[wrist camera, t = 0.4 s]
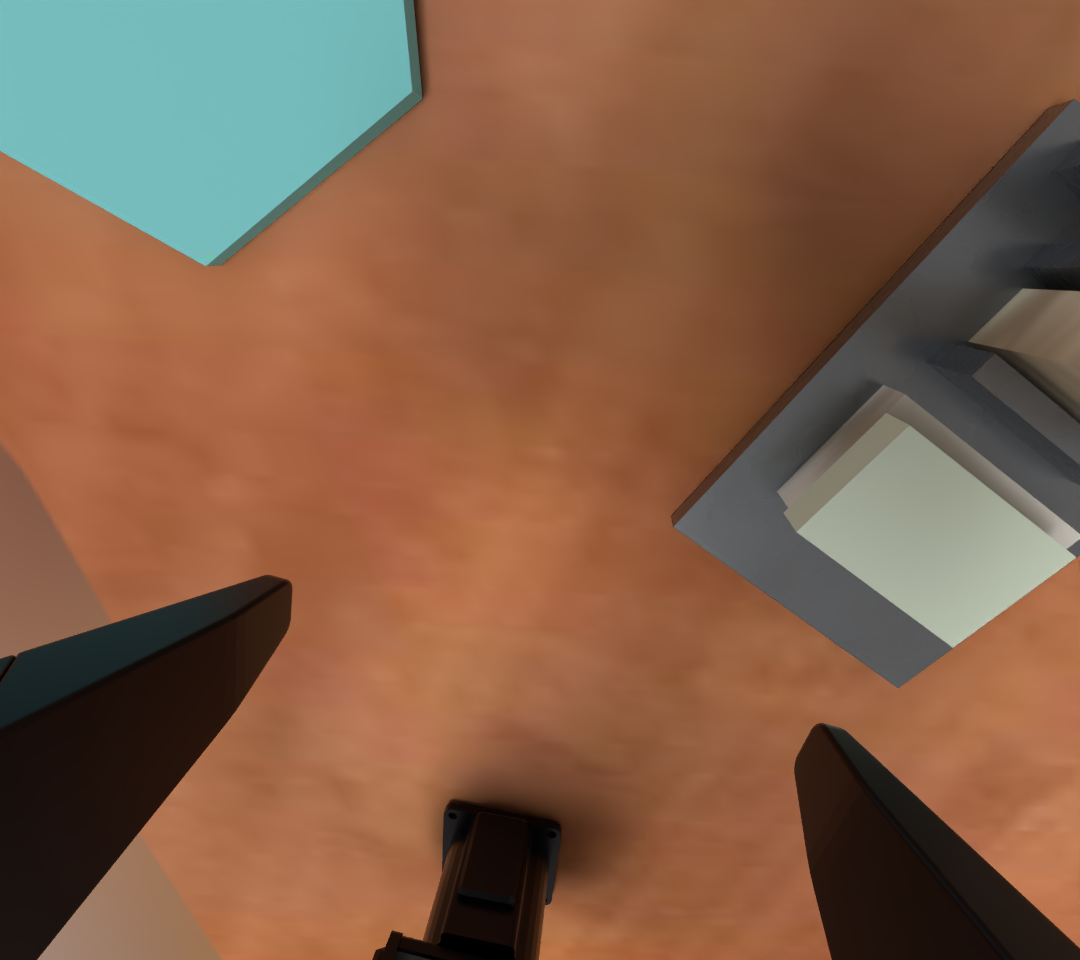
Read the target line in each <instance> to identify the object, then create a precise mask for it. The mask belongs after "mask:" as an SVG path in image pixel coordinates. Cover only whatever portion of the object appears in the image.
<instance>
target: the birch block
mask: <svg viewBox="0 0 1080 960" xmlns="http://www.w3.org/2000/svg"><path fill="white" fill-rule="evenodd" d="M968 342H969V343H970V344H971V345H973V346H974V347H975V348H976V349H977V350H982V351H986V352H991V353H995V354H997V355H998V356H999V357H1000V358H1001V359H1003V360H1004V361H1005V362H1006V363H1007V364H1009V365H1010V366H1011V367H1012V368H1013V369H1015V370H1016V371H1017V372H1018V373H1019V374H1021V375H1022V376H1023V377H1024V378H1026V379H1027V380H1028V381H1029V382H1030V383H1032V384H1033V385H1034V386H1035V387H1036V388H1038V389H1039V390H1040V391H1041V392H1042V393H1044V394H1045V395H1046V396H1047V397H1048V398H1050V399H1051V400H1052V401H1053V402H1054V403H1056V404H1057V405H1058V406H1059V407H1060V408H1062V409H1063V410H1064V411H1065V412H1066V413H1068V414H1069V415H1070V416H1071V417H1072V418H1074V419H1075V420H1076V421H1077V422H1078V423H1080V291H1063V290H1043V289H1022V290H1021V291H1020V292H1019V293H1018V294H1017V295H1016V296H1014V297H1013V298H1012V299H1011V300H1010V301H1009V302H1008V303H1007V304H1006V305H1005V306H1004V307H1003V308H1002V309H1001V310H1000V311H999V312H998V313H997V314H996V315H995V316H994V317H993V318H992V319H991V320H990V321H989V322H988V323H987V324H985V325H984V326H983V327H982V328H981V329H980V330H979V331H978V332H977V333H976V334H975V335H974V336H973V337H972V338H971V339H970V340H969V341H968Z"/></svg>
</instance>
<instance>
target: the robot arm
mask: <svg viewBox="0 0 1080 960" xmlns="http://www.w3.org/2000/svg"><path fill="white" fill-rule="evenodd" d="M291 606H292V584H291V582H290V581H289V580H287V579H283V578H279V577H276V576H272V575H264V576H261V577H258V578H255V579H251V580H248V581H245V582H242V583H239V584H236V585H233V586H229V587H226V588H223V589H220V590H217V591H214V592H210V593H207V594H204V595H201V596H198V597H195V598H191V599H188V600H185V601H182V602H179V603H176V604H172V605H169V606H166V607H163V608H160V609H157V610H153V611H150V612H147V613H144V614H141V615H138V616H134V617H131V618H128V619H125V620H122V621H119V622H115V623H112V624H109V625H106V626H103V627H100V628H96V629H94V630H90V631H87V632H84V633H81V634H78V635H74V636H71V637H68V638H65V639H62V640H59V641H55V642H52V643H49V644H46V645H43V646H39V647H36V648H33V649H30V650H27V651H24V652H21V653H19V654H18V655H17V656H16V657H15V656H13V655H11V656H8V657H4V658H1V659H0V960H37V959H38V958H39V957H40V955H41V954H42V953H43V951H44V950H45V949H46V948H47V947H48V945H49V944H50V943H51V942H52V940H53V939H54V938H55V936H56V935H57V934H58V933H59V932H60V930H61V929H62V928H63V927H64V925H65V924H66V923H67V921H68V920H69V919H70V918H71V917H72V915H73V914H74V913H75V912H76V910H77V909H78V908H79V907H80V905H81V904H82V903H83V902H84V900H85V899H86V898H87V896H88V895H89V894H90V893H91V892H92V890H93V889H94V888H95V887H96V885H97V884H98V883H99V882H100V880H101V879H102V878H103V877H104V875H105V874H106V873H107V872H108V870H109V869H110V868H111V866H112V865H113V864H114V863H115V862H116V860H117V859H118V858H119V857H120V855H121V854H122V853H123V852H124V850H125V849H126V848H127V847H128V845H129V844H130V843H131V842H132V840H133V839H134V838H135V836H136V835H137V834H138V833H139V832H140V831H141V829H142V828H143V827H144V826H145V824H146V823H147V822H148V821H149V819H150V818H151V817H152V816H153V814H154V813H155V812H156V811H157V809H158V808H159V807H160V806H161V804H162V803H163V802H164V801H165V799H166V798H167V797H168V796H169V794H170V793H171V792H172V791H173V789H174V788H175V787H176V786H177V784H178V783H179V782H180V781H181V779H182V778H183V777H184V776H185V774H186V773H187V772H188V771H189V769H190V768H191V767H192V766H193V764H194V763H195V762H196V761H197V759H198V758H199V757H200V756H201V754H202V753H203V752H204V751H205V749H206V748H207V747H208V746H209V744H210V743H211V742H212V741H213V739H214V738H215V737H216V736H217V734H218V733H219V732H220V731H221V729H222V728H223V727H224V726H225V724H226V723H227V722H228V720H229V719H230V718H231V716H232V715H233V714H234V713H235V711H236V710H237V708H238V707H239V705H240V704H241V702H242V701H243V700H244V698H245V696H246V695H247V693H248V692H249V690H250V689H251V687H252V686H253V684H254V683H255V681H256V679H257V678H258V676H259V675H260V673H261V672H262V670H263V669H264V667H265V665H266V664H267V662H268V661H269V659H270V658H271V656H272V655H273V653H274V652H275V650H276V648H277V647H278V645H279V644H280V642H281V641H282V639H283V638H284V636H285V634H286V633H287V630H288V628H289V625H290V621H291ZM794 773H795V780H796V787H797V793H798V800H799V806H800V813H801V819H802V826H803V832H804V839H805V846H806V852H807V858H808V863H809V869H810V874H811V878H812V883H813V887H814V891H815V895H816V899H817V903H818V907H819V911H820V915H821V919H822V923H823V927H824V931H825V934H826V938H827V942H828V946H829V950H830V954H831V958H832V960H1080V948H1079V947H1078V946H1077V945H1076V944H1075V943H1074V942H1073V941H1071V940H1070V939H1069V938H1068V937H1067V936H1066V935H1065V934H1064V933H1063V932H1062V931H1061V930H1060V929H1059V928H1057V927H1056V926H1055V925H1054V924H1053V923H1052V922H1051V921H1050V920H1049V919H1048V918H1047V917H1046V916H1045V915H1043V914H1042V913H1041V912H1040V911H1039V910H1038V909H1037V908H1036V907H1035V906H1034V905H1033V904H1032V903H1031V902H1030V901H1028V900H1027V899H1026V898H1025V897H1024V896H1023V895H1022V894H1021V893H1020V892H1019V891H1018V890H1017V889H1016V888H1014V887H1013V886H1012V885H1011V884H1010V883H1009V882H1008V881H1007V880H1006V879H1005V878H1004V877H1003V876H1002V875H1000V874H999V873H998V872H997V871H996V870H995V869H994V868H993V867H992V866H991V865H990V864H989V863H988V862H987V861H985V860H984V859H983V858H982V857H981V856H980V855H979V854H978V853H977V852H976V851H975V850H974V849H973V848H971V847H970V846H969V845H968V844H967V843H966V842H965V841H964V840H963V839H962V838H961V837H960V836H959V835H957V834H956V833H955V832H954V831H953V830H952V829H951V828H950V827H949V826H948V825H947V824H946V823H945V822H944V821H942V820H941V819H940V818H939V817H938V816H937V815H936V814H935V813H934V812H933V811H932V810H931V809H930V808H928V807H927V806H926V805H925V804H924V803H923V802H922V801H921V800H920V799H919V798H918V797H917V796H916V795H915V794H913V793H912V792H911V791H910V790H909V789H908V788H907V787H906V786H905V785H904V784H903V783H902V782H901V781H899V780H898V779H897V778H896V777H895V776H894V775H893V774H892V773H891V772H890V771H889V770H888V769H887V768H886V767H884V766H883V765H882V764H881V763H880V762H879V761H878V760H877V759H876V758H875V757H874V756H873V755H872V754H870V753H869V752H868V751H867V750H866V749H865V748H864V747H863V746H862V745H861V744H860V743H859V742H858V741H857V740H855V739H854V738H853V737H852V736H851V735H850V734H849V733H848V732H847V731H845V730H844V729H842V728H838V727H834V726H831V725H827V724H823V723H819V724H816V725H815V726H814V727H813V728H812V730H811V731H810V733H809V735H808V737H807V739H806V741H805V743H804V744H803V746H802V748H801V750H800V752H799V754H798V755H797V758H796V761H795V766H794ZM561 832H562V828H561V825H560V824H559V823H557V822H554V821H549V820H544V819H539V818H533V817H528V816H523V815H517V814H512V813H506V812H501V811H496V810H490V809H485V808H480V807H474V806H469V805H464V804H458V803H449V804H448V805H447V806H446V809H445V812H444V827H443V861H442V875H441V879H440V882H439V886H438V889H437V893H436V896H435V900H434V903H433V906H432V910H431V913H430V917H429V920H428V924H427V927H426V931H425V934H424V938H423V941H421V940H417V939H413V938H409V937H406V936H403V933H400V932H396V931H392V932H391V934H390V937H389V939H388V942H387V944H386V947H384V948H381V949H378V950H376V951H375V954H374V957H373V960H539V953H540V944H541V935H542V926H543V917H544V908H545V905H548V904H550V903H551V901H552V894H553V887H554V880H555V874H556V867H557V860H558V853H559V847H560V840H561Z"/></svg>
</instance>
